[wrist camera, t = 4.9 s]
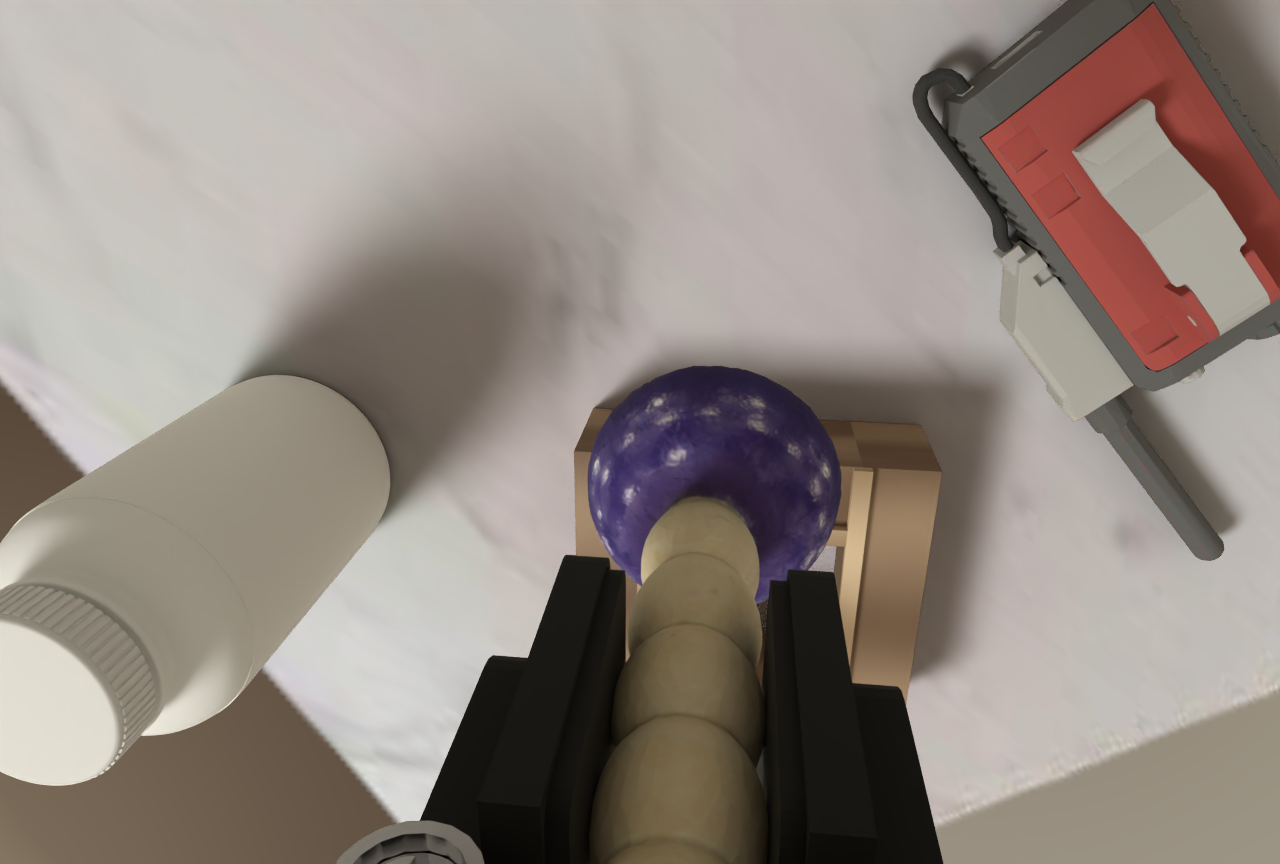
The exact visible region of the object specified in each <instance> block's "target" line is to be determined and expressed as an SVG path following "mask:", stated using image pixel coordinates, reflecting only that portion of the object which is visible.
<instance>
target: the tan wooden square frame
mask: <svg viewBox="0 0 1280 864" xmlns="http://www.w3.org/2000/svg"><path fill="white" fill-rule="evenodd" d="M613 410H614V409H597V408H593V410H592V412H591V415H590V417H589V419H588V421H587V424H586V426H585V428H584V430H583V433H582V435H581V437H580V439H579V442H578V444H577V446H576V448H575V451H574V468H575V518H576V556H591V557H606V558H609V560H610V568H611V569H612V570H622V569H621V568H620V567H619V566H618V564H616V563H615V562H614V561H613V559H612V558H611V556H610V555H609V553H608V552H607V550H606V549H605V547H604V545H603V543H602V541H601V539H600V537H599V535H598V533H597V531H596V528H595V525H594V522H593V519H592V516H591V513H590V507H589V502H588V481H587V479H588V465H589V461H590V457H591V453H592V449H593V446H594V442H595V439H596V436H597V434H598V432H599V431H600V429H601V428H602V426H603V424H604V423H605V421H606V420H607V418H608V417H609V415H610V414H611V412H612V411H613ZM819 421H820V422H821V424H822V425H823V426H824V428H825V429H826V431H827V433H828V435H829V437H830V438H831V440H832V442H833V444H834V447H835V450H836V453H837V457H838V460H839V462H840V469H841V492H842V493H841V500H840V505H839V509H838V514H837V517H836V521H835V525H834V527H833V530H832V532H831V535H830V538H829V540H828V541H827V543H826V546H837V549H836V559H835V568H834V575H835V580H836V586H837V592H838V598H839V604H840V610H841V617H842V623H843V629H844V635H845V641H846V647H847V653H848V660H849V666H850V672H851V678H852V683H860V684H873V685H886V686H898V687H899V688H900V689H901V691H902V694H903V697H904V700H905V704H906V701H907V695H908V688H909V682H910V675H911V669H912V662H913V656H914V650H915V643H916V637H917V630H918V624H919V617H920V611H921V604H922V598H923V592H924V585H925V579H926V572H927V566H928V559H929V553H930V546H931V540H932V534H933V527H934V521H935V514H936V508H937V501H938V495H939V489H940V482H941V476H942V471H941V468H940V466H939V464H938V462H937V460H936V458H935V455H934V453H933V451H932V449H931V447H930V444H929V442H928V440H927V438H926V436H925V434H924V431H923V429H922V427H921V425H910V424H891V423H871V422H852V421H832V420H819ZM640 588H641V586H640V585H639V584H637V583H636V582H635V581H633V580H632V579H631V578H630V577H629V576H628V575H627V574H626V662H627V660H628V658H629V657H630V654H629V649H628V624H629V618H630V614H631V610H632V606H633V602H634V600H635V597H636V595H637V593H638V591H639V590H640ZM765 636H766V633H762V647H761V653H760V659H759V662H758V665H757V668H756V671H755V672H756V674H757V676H758V679H759V682H760V685H761V688H762V675H763V662H764V649H765Z"/></svg>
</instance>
